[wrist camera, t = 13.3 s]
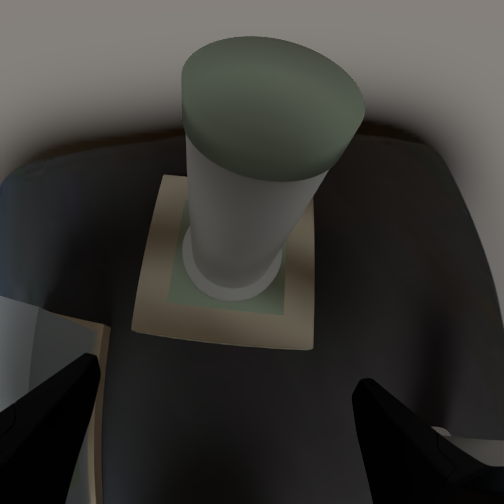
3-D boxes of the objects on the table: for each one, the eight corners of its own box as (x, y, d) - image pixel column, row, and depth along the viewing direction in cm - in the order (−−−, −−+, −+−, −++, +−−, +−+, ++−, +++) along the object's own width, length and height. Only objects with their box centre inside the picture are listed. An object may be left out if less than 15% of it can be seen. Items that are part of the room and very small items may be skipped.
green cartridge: (292, 284, 19) (418, 148, 7) (200, 315, 17) (193, 188, 5) (257, 204, 20) (316, 32, 9) (172, 227, 19) (148, 41, 7)
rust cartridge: (439, 481, 15) (557, 502, 3) (384, 500, 15) (508, 551, 3) (448, 420, 18) (579, 416, 6) (395, 433, 17) (543, 451, 5)
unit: (103, 504, 12) (55, 562, 4) (35, 478, 12) (-31, 511, 4) (111, 327, 17) (49, 296, 9) (42, 311, 17) (-34, 273, 9)
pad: (306, 350, 19) (313, 348, 17) (135, 332, 17) (130, 329, 16) (308, 202, 23) (313, 194, 22) (165, 183, 22) (163, 173, 20)
